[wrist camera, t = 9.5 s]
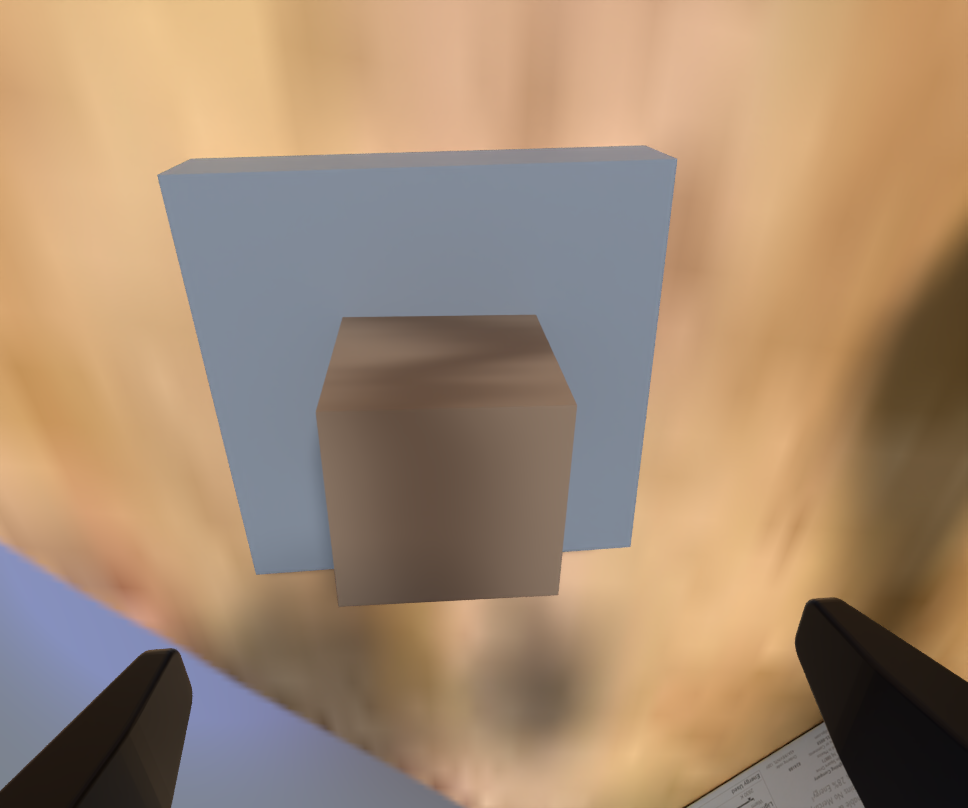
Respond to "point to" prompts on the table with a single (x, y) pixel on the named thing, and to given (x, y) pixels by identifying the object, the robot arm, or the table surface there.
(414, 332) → the walnut cube
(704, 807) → the light bulb box
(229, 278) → the slate block
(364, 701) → the table surface
